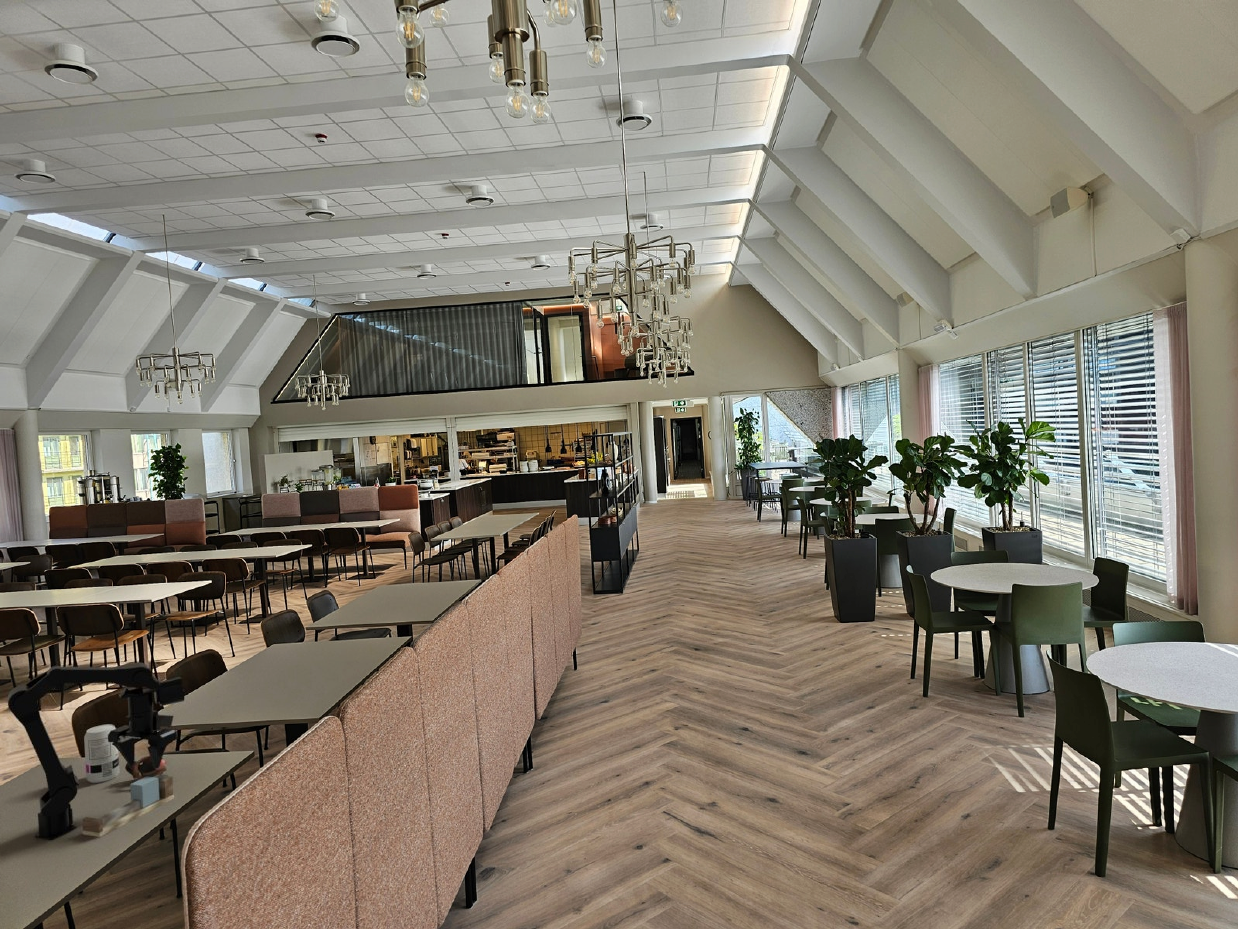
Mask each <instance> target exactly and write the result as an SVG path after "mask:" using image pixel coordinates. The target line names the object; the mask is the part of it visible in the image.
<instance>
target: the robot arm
mask: <svg viewBox="0 0 1238 929" xmlns="http://www.w3.org/2000/svg"><path fill="white" fill-rule="evenodd" d="M152 671H153V670H151V669H150V667H149V666H148V665H147V664H146V663H144V662H132V663H125V664H122V665H117V666H60V665H53V666H52V667H50V668H49V669H48V670H46V671H45V672H43V673H41V674H39V675H38V676H35V677H34V678H33V679H31V680H29V681H28V682H27V683H26V684H21V685H18V686H15V687H14V688H13V689H11V690H10V691H9V693H8V695H7V706H8V709H9V710H10V712H11V713H12V715H13V716H14V717H15V718H16V720H17V721H18V722H19V723H20V724H21V725H22V726H23V727H24V730H25V732H26V733H27V734H26V735H27V736H28V738H29V740H30V743H31V745H32V748H33V749H34V752H35V754H36V756H37V759H38V760H39V762H40V763H39V764H40V765H41V768H42V770H43V771H44V774H45V778H46V784H47V790H46V792H45V793H43V795H42V796H40V798H39V799H38V801H39V802H38V803H39V808H40V812H38V813H37V820H38V822H37V824H38V832H37V833H35V834H34V838H41V839H46V840H54V839H57V838H58V837H60V836H62V835H65V834H66V833H69V832H71V831H72V830H75V829H76V828H77V825H74V816H73V808H72V806H71V802H72V801H73V800H74V799H75V798H76V797H77V794H78V786H80V783H79V779H78V776H77V775H76V774H75V773H74V768H73V765H72V764H70V765H68V766H67V767H65V765H63V763H62V762H61V760H60V758H59V755H58V753H57V751H56V749H55V746H54V744H53V742H52V739H51V737H50V735H49V733H48V731H47V728H46V726H45V724H44V722H43V719H42V717H41V714H40V708H39V703H38V701H39V700H41V699H42V698H44V697H45V696H46V695H47V694H48V693H49V692H51V691H52V690H53V689H54V688H55V687H57V686H58V685H60V684H114V685H119V686H123V687H124V688H123V690H121V692H120V693H119V694H118V696H119V698H120V700H121V699H123V700H124V699H127V707H128V715H126V716H125V717H124V720H125V722H129V725H127V724H125V725H122V726H120V727H116V729H114V730H112V731H110V733H109V734H108V742H113V743H112V745H114V746H115V747H116V748H117V749H118V753H120V754H121V756H122V758H123V759H124V760H125V761H126V764H127V763H128V764H129V766H132V765H134V761H136V759H135V747H136V746H135V744H136V742H137V741H138V740H147V744H148V745H149V746H147V747H146V748H147V752H148V754H149V756H150V757H151V760H152V763H153V766H154V768H155V769H157V768H159V766H160V763H161V760H162V758H163V756H164V753H165V751H166V748H167V747H168V746H169V745H170V744H172V743H173V742H175V741H177V740H178V731H177V730H175V729H171V728H172V725H173V721H174V715H169V714H159V711H158V710H154V702H155V704H159V705H160V707H163V706H168V705H173V704H177V703H182V702H185V697H186V696H185V690H184V685H183V682H182V681H183V679H182V677H180V676H178V677H174V678H171V679H166V680H162V681H159V680H158V678H157V677H155V676H153V672H152ZM153 695H154V698H153ZM166 727H167V728H166ZM161 728H163V729H161ZM155 731H157V732H155Z"/></svg>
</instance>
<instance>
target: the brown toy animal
mask: <svg viewBox="0 0 1238 929" xmlns="http://www.w3.org/2000/svg"><path fill="white" fill-rule="evenodd" d="M162 759H164V758H163V757H162ZM166 764H167V762H166V761H165V765H166ZM124 769H125V771H126V772H127V773H128V774H130V775H131V776H132V778H133V779H134V780H136V781H138V780H140V779H142V778H145V777H154V776H156V775H163V773H164V772H166V771H167V770H168V769H167V768H166V766H165V768H163V769H160V770H156V769H155V768H154V766H153V763H152V760H151V757H150V755H145V756H143V757H141V758H140V759H138V760H134V765H132V766H129V764H128V763H127V762H126V764H125V767H124Z"/></svg>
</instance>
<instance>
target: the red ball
mask: <svg viewBox="0 0 1238 929" xmlns="http://www.w3.org/2000/svg"><path fill="white" fill-rule="evenodd" d="M165 762H166V760H165V758H163V759H162V760H161V763H160V766H159V768H157V769H156V770H160V769H163V768H165V767H166V764H165Z"/></svg>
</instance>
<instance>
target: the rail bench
mask: <svg viewBox="0 0 1238 929" xmlns="http://www.w3.org/2000/svg"><path fill="white" fill-rule="evenodd" d="M154 777H155V778H158V782H159V800H157V801H155V802H153V803H152V804H150V805H148V806H146V807H144V808H142V807H141V800H134V801H132V802H131V801H130V802H128V803H126V804H124V805H122V806H120V807H118V808H116V809H114V810H112V811H110V812H108V813H105V814H104V815H102V816H99V817H98V818H96V817H95V818H94V817H89V816H88V817H84V818H82V819H81V820H82V835H85V836H92V837H97V838H102V837H103V836H105V835H107V834H109V833H110V832H113V831H114V830H116V829H119V828H120V827H122V826H124V825H126V824H128V823H130V822H131V821H133V820H135V819H137V818H139V817H141V816H143V815H144V814H147V813H149V812H151V811H152V810H155V809H157V808H158V807H160V806H162V805H164V804H166V803H167V802H169V801H171V800H173V799H175V795H174V779H173V776H169V775H168V774H161V775H156V776H154Z"/></svg>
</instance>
